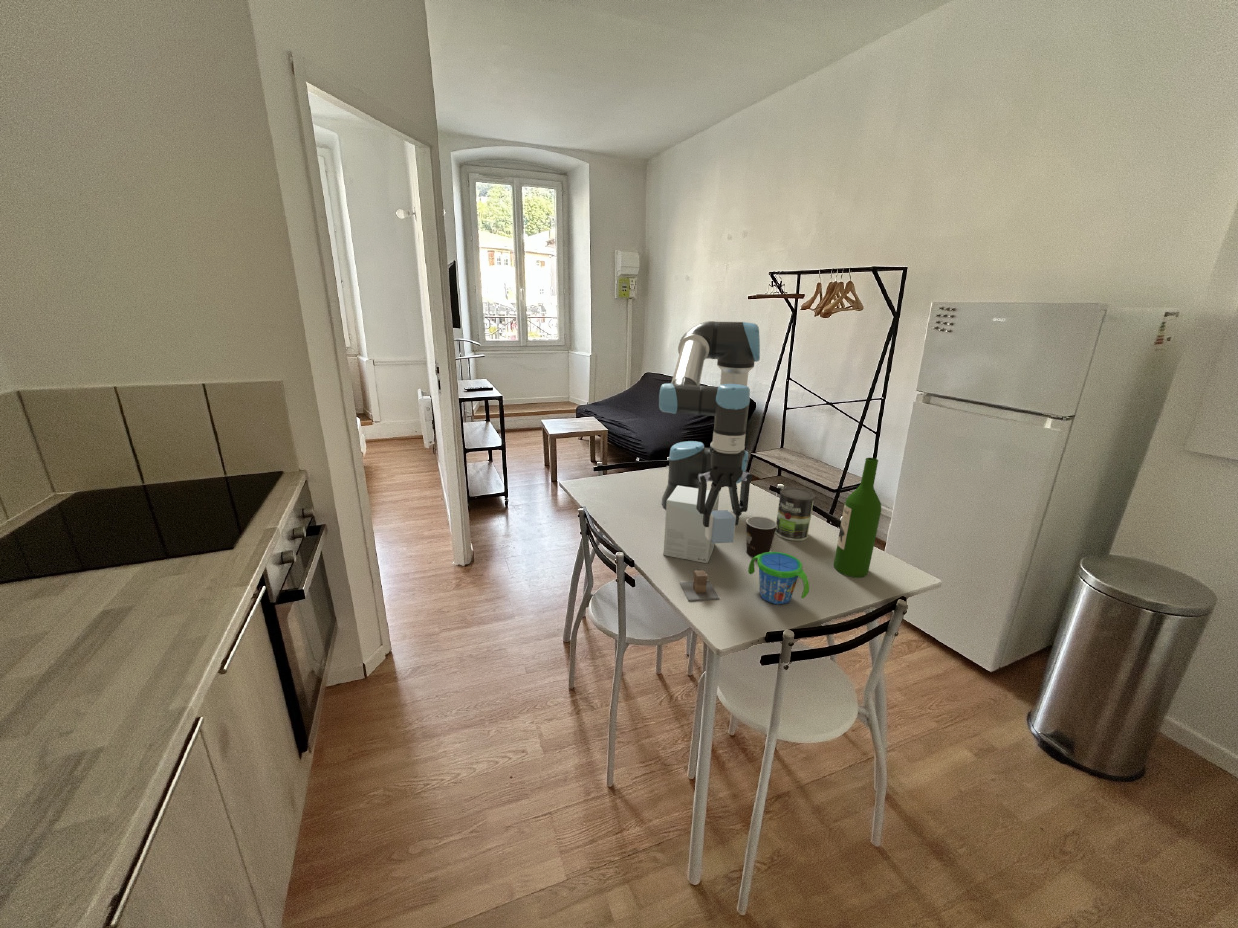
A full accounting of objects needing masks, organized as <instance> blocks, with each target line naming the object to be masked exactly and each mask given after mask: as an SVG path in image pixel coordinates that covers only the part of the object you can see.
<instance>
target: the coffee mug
mask: <svg viewBox="0 0 1238 928" xmlns="http://www.w3.org/2000/svg"><path fill="white" fill-rule="evenodd" d="M745 522H746V523H745V526H746V529H745V530H746V541H745V542H746V543H745V544H746V554H747V555H748V556H749V557H751V558H754V557H755V556H757V555H759V554H763V553H766V552H771V549H772V545H773V540H774V536H775V534H776V533H775V531H776V527H777V523H776V521H775V520H774V519H771V518H768V517H765V516H756V515H755V516H749V517H747V518H746V520H745Z"/></svg>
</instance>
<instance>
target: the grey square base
mask: <svg viewBox="0 0 1238 928" xmlns="http://www.w3.org/2000/svg"><path fill="white" fill-rule="evenodd" d="M679 585H680V586H681V589H682V591H683V594H684V596H685V597H686V600H687V602H695V601H697V602H698V601H711V600H715V601H716V600H720V596H719V594H718V592H717V591H716V590H715V588H714V586H713V585H712V583H711V581H710V580H708V574H707V573H706V572H705V570H702V569H701V570H694V571H693V580H692V581H683V582H681V581H680V582H679Z"/></svg>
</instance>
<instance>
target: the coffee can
mask: <svg viewBox="0 0 1238 928" xmlns="http://www.w3.org/2000/svg"><path fill="white" fill-rule="evenodd" d="M815 497H816V495H815V493H813V492H812V491H809V490H807V489H805V488H804V489H803V488H799V487H784V488H781V489H780V490H779V500H778V507H777V514H776V515H777V516H776V521H775V522H776V523H777V527H776V531H775V534H776V535H777V537H780V538H781V539H782V538H783V539H785V540H788V541H793V542H795V541H796V542H799V541H801V542H803V541H805V540H807V539H808V537H809V530H810V524H811V518H812V513H813V506H814V501H815Z"/></svg>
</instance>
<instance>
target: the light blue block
mask: <svg viewBox="0 0 1238 928" xmlns="http://www.w3.org/2000/svg"><path fill="white" fill-rule="evenodd" d="M729 511H730V510H728V509H726V510H723V509H721V510H718V511H712V512H711V514H712V515H713V516H714V517H713V528H712V538H711V541H712V543H713V544H715V545H716V544H728V543H729V544H730V543H731V544H732V543H734V539H733V538H735V531H734V528H735V529H736V526H735V517H734V516H733V515H732V514H731V513H730V512H729Z"/></svg>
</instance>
